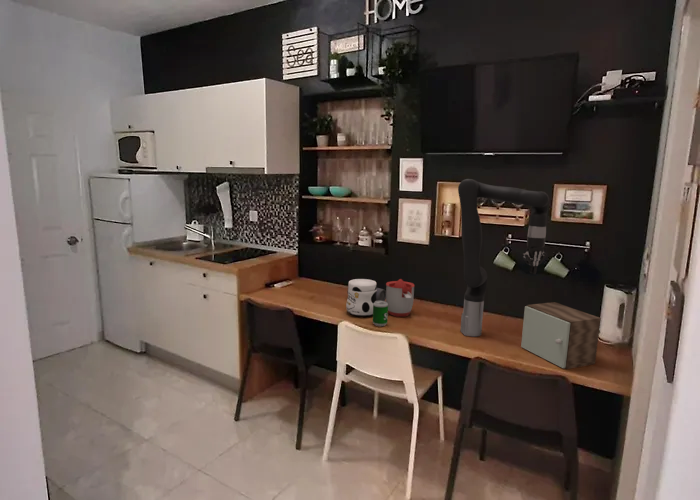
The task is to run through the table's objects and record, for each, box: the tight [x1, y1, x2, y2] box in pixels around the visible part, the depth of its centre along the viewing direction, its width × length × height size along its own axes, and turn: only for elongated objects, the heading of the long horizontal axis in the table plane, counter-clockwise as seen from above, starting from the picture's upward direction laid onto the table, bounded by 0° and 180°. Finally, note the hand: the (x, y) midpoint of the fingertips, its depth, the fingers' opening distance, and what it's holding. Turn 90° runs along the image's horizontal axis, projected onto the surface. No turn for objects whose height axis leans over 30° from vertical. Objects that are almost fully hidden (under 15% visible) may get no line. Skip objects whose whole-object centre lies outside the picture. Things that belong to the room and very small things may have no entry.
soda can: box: [372, 300, 389, 327], centre depth 225 cm, size 8×8×12 cm
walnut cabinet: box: [526, 301, 602, 370], centre depth 190 cm, size 16×24×20 cm, turn 21°
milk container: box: [345, 278, 378, 317], centre depth 242 cm, size 17×17×18 cm
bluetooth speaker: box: [347, 287, 386, 301], centre depth 265 cm, size 23×9×10 cm, turn 55°
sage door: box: [520, 305, 570, 369], centre depth 187 cm, size 3×24×19 cm, turn 21°
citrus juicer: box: [385, 278, 416, 318], centre depth 242 cm, size 16×17×20 cm
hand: (532, 273), depth 201 cm, fingers closed
